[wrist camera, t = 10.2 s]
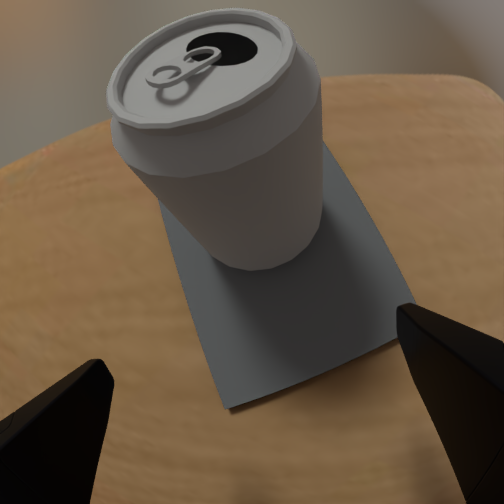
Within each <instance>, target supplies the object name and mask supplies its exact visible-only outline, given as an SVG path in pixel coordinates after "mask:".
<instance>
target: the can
mask: <svg viewBox="0 0 504 504" xmlns="http://www.w3.org/2000/svg"><path fill="white" fill-rule="evenodd" d="M106 99H107V108H108V109H109V111H110V112H111V113H112V115H113V116H112V120H111V133H112V142H113V146H114V147H115V149H116V150H117V151H118V153H119V154H120V156H121V157H122V159H123V160H124V161H125V163H126V164H127V165H128V166H129V167H130V168H131V169H132V171H133V172H134V173H135V174H136V175H137V176H138V177H139V178H140V179H141V180H142V182H143V183H144V184H145V185H146V186H147V187H148V188H149V189H150V190H151V191H152V193H153V194H154V195H155V196H156V197H157V198H158V199H159V200H160V201H161V202H162V203H163V204H164V206H165V207H166V208H167V209H168V210H169V211H170V212H171V213H172V214H173V215H174V216H175V217H176V218H177V220H178V221H179V222H180V223H181V224H182V225H183V226H184V227H185V228H186V229H187V230H188V231H189V232H190V233H191V235H192V236H193V237H194V238H195V239H196V240H197V241H198V242H199V243H200V244H201V245H202V246H203V247H204V248H205V249H206V250H207V251H208V252H209V254H210V255H211V256H212V257H214V258H216V259H217V260H219V261H221V262H222V263H224V264H226V265H227V266H229V267H233V268H238V269H243V270H248V271H254V270H263V269H272V268H274V267H276V266H279V265H281V264H283V263H286V262H288V261H290V260H292V259H293V258H294V257H296V256H297V255H298V254H299V253H300V252H301V251H303V250H304V249H305V248H306V247H307V246H308V245H309V243H310V242H311V240H312V238H313V237H314V235H315V233H316V232H317V230H318V228H319V224H320V219H321V213H322V202H323V140H322V101H321V79H320V76H319V73H318V70H317V67H316V64H315V61H314V59H313V58H312V57H311V56H310V55H309V54H308V53H307V52H306V51H305V50H304V49H303V48H302V47H301V46H300V45H299V44H298V43H296V40H295V38H294V34H293V31H292V29H291V28H290V27H289V26H287V25H286V24H285V23H284V22H283V21H282V20H281V19H279V18H277V17H275V16H272V15H270V14H267V13H264V12H262V11H259V10H252V9H243V8H227V9H216V10H210V11H205V12H201V13H197V14H193V15H190V16H187V17H184V18H182V19H179V20H177V21H175V22H173V23H170V24H168V25H165V26H164V27H162V28H160V29H158V30H157V31H155V32H154V33H152V34H151V35H149V36H148V37H146V38H144V39H143V40H142V41H141V42H139V43H138V44H137V45H136V46H135V47H134V48H133V49H132V50H130V51H129V52H128V53H127V54H126V55H125V57H124V58H123V59H122V61H121V62H120V63H119V65H118V66H117V67H116V69H115V70H114V72H113V74H112V77H111V79H110V82H109V85H108V87H107V90H106Z"/></svg>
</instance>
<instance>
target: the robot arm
mask: <svg viewBox="0 0 504 504" xmlns="http://www.w3.org/2000/svg"><path fill="white" fill-rule="evenodd" d="M396 332H397V337H398V340H399V342H400V345H401V348H402V350H403V353H404V356H405V359H406V361H407V364H408V367H409V370H410V373H411V376H412V378H413V381H414V383H415V385H416V387H417V389H418V391H419V394H420V396H421V398H422V400H423V402H424V404H425V406H426V408H427V410H428V413H429V415H430V417H431V419H432V421H433V423H434V426H435V428H436V430H437V432H438V435H439V437H440V439H441V441H442V444H443V446H444V448H445V451H446V453H447V455H448V458H449V460H450V463H451V465H452V467H453V470H454V472H455V475H456V477H457V480H458V482H459V485H460V488H461V490H462V493H463V495H464V498H465V501H466V504H504V343H503V341H501V340H499V339H496V338H494V337H492V336H489V335H487V334H485V333H482V332H480V331H477V330H475V329H473V328H470V327H468V326H466V325H463V324H461V323H459V322H456V321H454V320H452V319H449V318H447V317H444V316H442V315H440V314H437V313H435V312H433V311H430V310H428V309H425V308H423V307H421V306H418V305H416V304H413V303H410V302H409V303H405V304H402V305H399V306H397V309H396ZM113 389H114V379H113V376H112V375H111V373H110V371H109V370H108V368H107V366H106V365H105V363H104V361H103V360H101V359H91V360H89V361H87V362H86V363H84V364H83V365H81V366H80V367H78V368H77V369H75V370H74V371H73V372H71V373H70V374H68V375H67V376H65V377H64V378H62V379H61V380H59V381H58V382H57V383H55V384H54V385H52V386H51V387H49V388H48V389H46V390H45V391H44V392H42V393H41V394H39V395H38V396H36V397H35V398H33V399H32V400H31V401H29V402H28V403H26V404H25V405H23V406H22V407H20V408H19V409H18V410H16V411H15V412H13V413H12V414H10V415H9V416H7V417H6V418H4V419H3V420H1V421H0V504H90V500H91V495H92V490H93V485H94V480H95V475H96V471H97V466H98V462H99V457H100V453H101V449H102V445H103V441H104V437H105V433H106V429H107V424H108V419H109V413H110V407H111V401H112V395H113Z"/></svg>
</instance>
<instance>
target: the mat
mask: <svg viewBox="0 0 504 504" xmlns="http://www.w3.org/2000/svg"><path fill="white" fill-rule="evenodd" d="M158 201H159V205H160V209H161V213H162V217H163V221H164V224H165V228H166V232H167V235H168V239H169V242H170V246H171V250H172V253H173V257H174V260H175V263H176V267H177V270H178V274H179V277H180V280H181V283H182V287H183V290H184V293H185V296H186V300H187V303H188V306H189V309H190V312H191V315H192V318H193V321H194V324H195V327H196V330H197V333H198V336H199V339H200V342H201V345H202V348H203V351H204V354H205V357H206V360H207V362H208V365H209V368H210V371H211V374H212V376H213V379H214V382H215V384H216V387H217V390H218V392H219V395H220V398H221V400H222V403H223V406H224V408H225V409H228V408H231V407H234V406H237V405H240V404H243V403H246V402H249V401H252V400H255V399H258V398H260V397H263V396H266V395H269V394H271V393H274V392H277V391H279V390H282V389H285V388H287V387H290V386H292V385H295V384H297V383H300V382H302V381H305V380H307V379H310V378H312V377H314V376H317V375H319V374H321V373H324V372H326V371H328V370H331V369H333V368H335V367H337V366H340V365H342V364H344V363H346V362H348V361H351V360H353V359H355V358H357V357H359V356H361V355H363V354H365V353H367V352H369V351H371V350H373V349H376V348H378V347H379V346H381V345H383V344H385V343H387V342H389V341H391V340H393V339H395V338H397V332H396V309H397V306H399V305H402V304H405V303H409V302H410V303H413V304H416V302H415V300H414V298H413V296H412V294H411V292H410V290H409V288H408V286H407V284H406V282H405V280H404V278H403V276H402V274H401V272H400V270H399V268H398V266H397V264H396V262H395V260H394V258H393V256H392V254H391V253H390V251H389V249H388V247H387V245H386V243H385V241H384V240H383V238H382V236H381V234H380V232H379V231H378V229H377V227H376V225H375V224H374V222H373V220H372V218H371V217H370V215H369V213H368V211H367V210H366V208H365V206H364V205H363V203H362V201H361V200H360V198H359V196H358V195H357V193H356V191H355V190H354V188H353V186H352V185H351V183H350V182H349V180H348V178H347V177H346V175H345V174H344V172H343V171H342V169H341V167H340V166H339V164H338V163H337V161H336V160H335V158H334V157H333V155H332V154H331V152H330V151H329V149H328V148H327V146H326V145H325V143H324V142H323V202H322V213H321V219H320V224H319V228H318V230H317V232H316V233H315V235H314V237H313V238H312V240H311V242H310V243H309V245H308V246H307V247H306V248H305V249H304V250H303V251H301V252H300V253H299V254H298V255H297V256H296V257H294V258H293V259H292V260H290V261H288V262H286V263H283V264H281V265H279V266H276V267H274V268H272V269H263V270H254V271H248V270H243V269H238V268H233V267H229V266H227V265H226V264H224V263H222V262H221V261H219V260H217V259H216V258H214V257H212V256H211V255H210V254H209V252H208V251H207V250H206V249H205V248H204V247H203V246H202V245H201V244H200V243H199V242H198V241H197V240H196V239H195V238H194V237H193V236H192V235H191V233H190V232H189V231H188V230H187V229H186V228H185V227H184V226H183V225H182V224H181V223H180V222H179V221H178V220H177V218H176V217H175V216H174V215H173V214H172V213H171V212H170V211H169V210H168V209H167V208H166V207H165V206H164V204H163V203H162V202H161V201H160V200H159V199H158ZM416 305H417V304H416Z"/></svg>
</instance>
